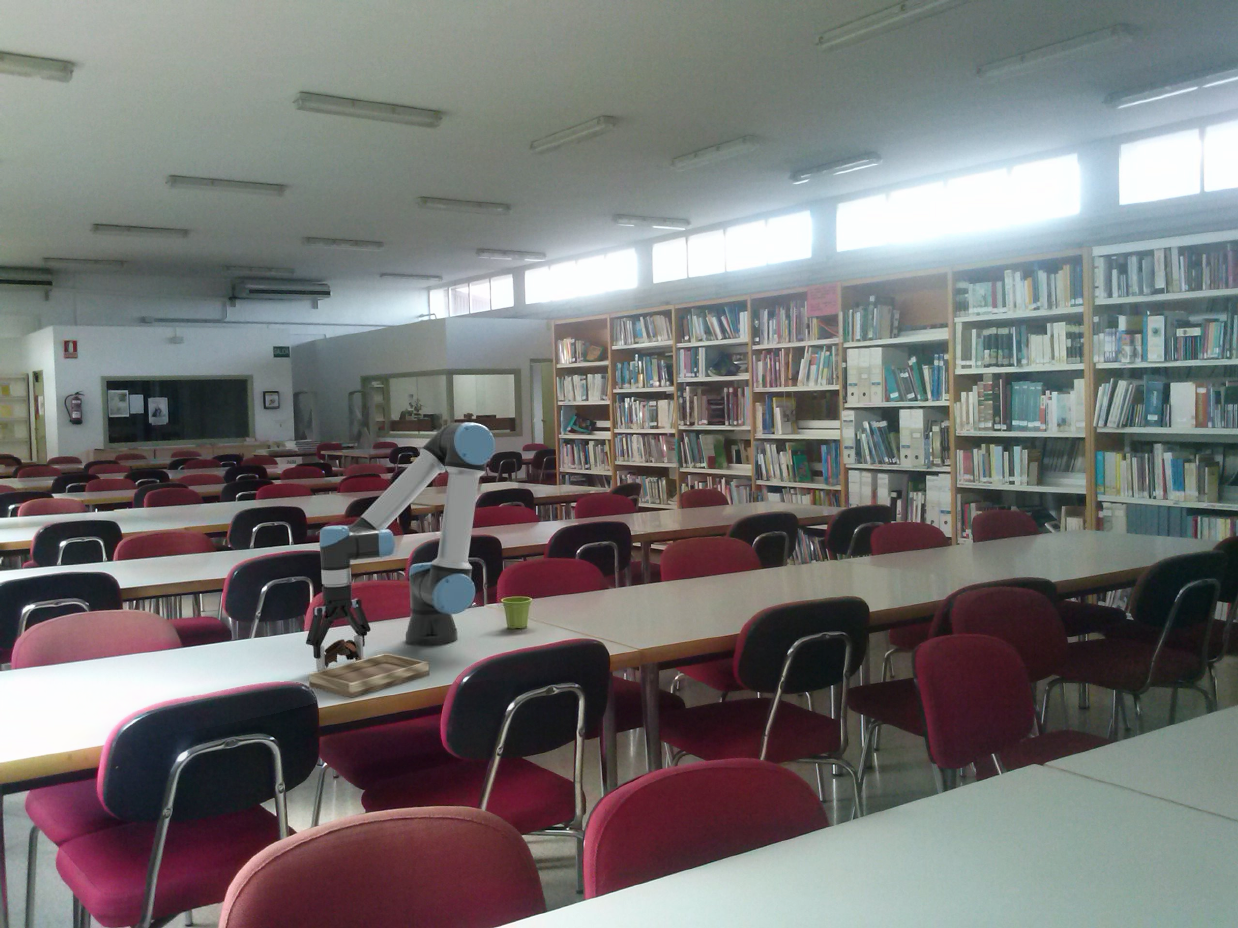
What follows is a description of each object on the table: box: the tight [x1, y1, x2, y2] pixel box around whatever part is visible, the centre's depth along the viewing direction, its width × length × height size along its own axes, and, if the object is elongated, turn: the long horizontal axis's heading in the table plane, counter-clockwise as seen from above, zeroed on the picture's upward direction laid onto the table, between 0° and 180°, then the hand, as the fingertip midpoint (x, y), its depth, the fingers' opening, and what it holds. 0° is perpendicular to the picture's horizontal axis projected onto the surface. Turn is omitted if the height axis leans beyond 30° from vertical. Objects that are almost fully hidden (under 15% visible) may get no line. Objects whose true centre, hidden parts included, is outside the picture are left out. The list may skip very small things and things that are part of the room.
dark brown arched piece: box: [324, 638, 361, 668], centre depth 263 cm, size 12×10×8 cm
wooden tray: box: [308, 652, 430, 698], centre depth 249 cm, size 24×17×3 cm
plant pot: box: [500, 596, 533, 630], centre depth 305 cm, size 9×9×9 cm
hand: (340, 664), depth 263 cm, fingers closed on dark brown arched piece, 11 cm apart
